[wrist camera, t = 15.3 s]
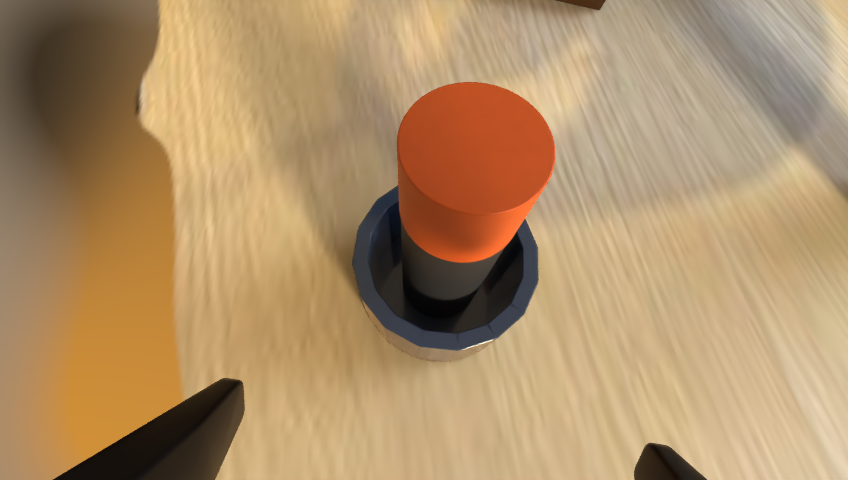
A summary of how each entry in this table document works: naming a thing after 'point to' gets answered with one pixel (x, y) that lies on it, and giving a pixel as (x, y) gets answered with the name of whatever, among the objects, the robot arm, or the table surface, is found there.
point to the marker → (465, 188)
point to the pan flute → (586, 3)
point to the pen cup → (431, 336)
